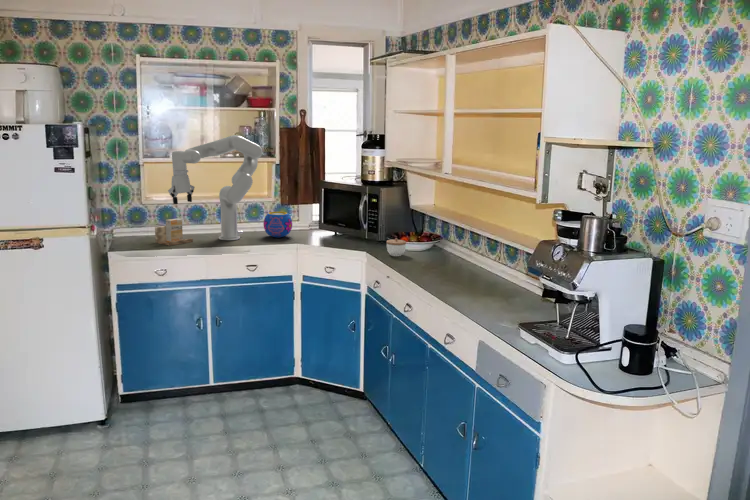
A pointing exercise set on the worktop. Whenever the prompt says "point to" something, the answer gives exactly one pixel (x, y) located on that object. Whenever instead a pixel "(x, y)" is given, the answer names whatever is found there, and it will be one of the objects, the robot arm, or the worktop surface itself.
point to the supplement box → (174, 230)
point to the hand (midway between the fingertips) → (182, 202)
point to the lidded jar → (396, 247)
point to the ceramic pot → (277, 224)
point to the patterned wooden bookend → (161, 237)
